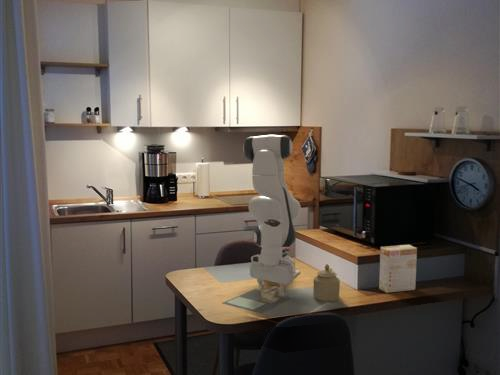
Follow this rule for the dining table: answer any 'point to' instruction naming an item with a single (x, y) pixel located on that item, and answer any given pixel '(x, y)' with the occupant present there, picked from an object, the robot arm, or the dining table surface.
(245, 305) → the rubber mat
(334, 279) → the sugar bowl
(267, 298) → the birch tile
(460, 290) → the dining table surface
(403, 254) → the coffeecake box
